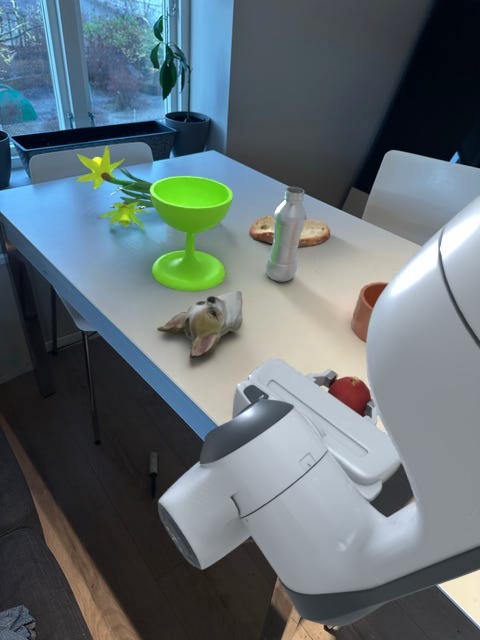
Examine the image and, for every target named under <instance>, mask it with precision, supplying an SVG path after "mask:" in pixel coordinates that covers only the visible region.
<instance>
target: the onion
mask: <svg viewBox="0 0 480 640" xmlns="http://www.w3.org/2000/svg"><path fill="white" fill-rule="evenodd" d="M327 392H328V393H330V394H331V395H332V396H334V397H335V398H337V399H338V400H339V401H341V402H342V403H344V404H345V405H346V406H348V407H349V408H351V409H352V410H353V411H355V412H356V413H358V414H359V415H360V416H362V417H363V418H365V417H366V415H365V414H364V413H363V412H364V410H365V409H366V408H365V407H366V405H367V403H368V402H369V401H371V400H372V395H371V391H370V387H368V386H367V384H366V383H365V382H364V381H363V380H362V379H360V378H359V377H358V376H343V377H341V378H337V380H336V381H335V382H334V383H333V384H332V385H331V386H330V388H329V389H327Z"/></svg>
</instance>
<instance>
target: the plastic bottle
mask: <svg viewBox="0 0 480 640" xmlns="http://www.w3.org/2000/svg"><path fill="white" fill-rule="evenodd" d="M304 196H305V190H304V189H303V188H301V187H298V186H288V187H286V188H285V193H284V195H283V199H284V201H282V202H281V203H280V204H279V206H277V207H276V209H275V212H274V239H273V244H272V246H271V250H270V254H269V257H268V259H267V262H266V274H267V275H268V277H269V279H272V280H274V281H276V282H288V281H290V280H292V278H294V277H295V275H296V272H297V269H298V267H297V266H298V260H297V258H298V249H299V247H298V244H299V240H300V236H301V233H302V230H303V227H304V224H305V221H306V219H307V212H306V210H305V206H304V205H303V202H304V199H305V197H304Z"/></svg>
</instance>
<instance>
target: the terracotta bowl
mask: <svg viewBox="0 0 480 640" xmlns="http://www.w3.org/2000/svg"><path fill="white" fill-rule="evenodd" d="M388 284H389V282H385V281H384V282H382V281H377V282H370V283H368V284H365V285H364V286H363V287H362V288H360V291H359V294H358V297H357V300H356V303H355V307H354V310H353V313H352V317H351V321H350V326H351V328H352V331H353V332H354V334H355V335H356V336H357V337H358V339H360V340H361V341H363V342H365V343H366V340H367V332H368V326H369V321H370V318H371V314H372V311H373V308H374V306H375V304H376V302H377V300H378V298H379V296H380V295H381V293H382V292H383V290H384V289H385V288H386V286H387V285H388Z"/></svg>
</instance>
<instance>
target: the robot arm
mask: <svg viewBox="0 0 480 640" xmlns="http://www.w3.org/2000/svg"><path fill="white" fill-rule="evenodd" d="M388 283H389V284H388V285H387V286H386V288H385V289H384V290H383V292H382V293H381V295H380V296H379V298H378V300H377V302H376V304H375V306H374V308H373V311H372V314H371V318H370V321H369V326H368V332H367V340H366V342H365V363H366V364H365V365H366V374H367V375H366V376H367V381H368V386H369V387H368V388H369V390H370V394H371V401H369V402H368V403H367V405H366V407H365V408H366V409H365V410H364V412H363V413H364V414H365V415H366V416H365V417H364V418H363V417H362V416H360V415H359V414H358V413H356V412H355V411H353V410H352V409H351V408H349V407H348V406H346V405H345V404H344V403H342V402H341V401H339V400H338V399H337V398H335V397H334V396H332V395H331V394H330V393H328V390H329V388H330V386H331V385H332V384H333V383H334V382H335V381H336V380H338V377H339V374H338V373H336V372H335V371H334V370H332V369H331V368H328V369H326V370H325V371H323V372H316V373H315V372H313V373H312V372H311V373H308V374H306V375H304V374H303V373H302V372H300V371H299V370H297V369H296V368H295V367H294V366H291V365H290V364H289V363H288V362H286V361H285V360H283V359H282V358H269V359H268V360H266V361H264V362H262V363H261V364H260V365H259V366H258V367H256V368H255V369H254V370H253V371H252V372H251V373H250V374H249V375H248V377H247V380H243V381H241V382H239V383H238V384H237V385H236V388H235V392H234V396H233V403H232V419H230V420H228V421H226V422H224V423H222V424H220V425H218V426H216V427H215V428H212V429H211V430H210V431H209V432H208V433H207V434H206V435H205V437H204V439H203V443H202V447H201V451H200V455H199V461H197V462H196V463H195V464H194V465H193V466H191V467H190V468H189V469H188V470H187V471H186V472H185V473H184V474H182V475H181V476H180V477H179V478H178V479H177V480H176V481H175V482H174V483H173V484H172V485H171V486H170V487H169V488H167V490H166V491H165V492H164V493H163V494H162V496H160V498H159V499H158V501H157V507H158V509H157V511H158V515H159V518H160V521H161V523H162V524H163V527H164V529H165V530H166V532H167V534H168V535H169V537H170V538H171V541H173V544H175V546H176V548H177V550H178V551H179V552H180V553H181V555H182V557H183V558H184V559H185V560H186V561H187V562H188V563H189V564H190V565H191V566H193V567H195V568H197V569H199V570H205V569H207V568H209V567H211V566H213V564H215V563H217V562H218V561H219V560H221V559H222V558H224V557H226V556H227V555H228V554H229V553H231V552H233V551H234V550H235V549H236V548H238V547H239V546H240V545H241V544H243V543H244V542H245V541H246V540H248V539H249V538H252V539H253V541H254V542H255V544H256V546H257V547H258V548H259V550H260V551H261V553H262V554H263V556H264V557H265V559H266V560H267V562H268V563H269V565H270V566H271V568H272V569H273V570H274V572H275V574H276V575H277V578H278V580H279V582H280V584H281V585H282V587H283V589H284V591H285V593H286V595H287V596H288V598H289V600H290V601H291V604H292V606H293V607H294V609H295V611H296V612H297V614H298V615H299V616H300V617H301V618H302V619H304V620H306V621H309V622H311V623H315V624H318V625H323V626H328V627H346V626H349V625H351V624H353V623H355V622H357V621H359V620H361V619H363V618H365V617H366V616H368V615H369V614H371V613H373V612H374V611H376V610H377V609H379V608H381V607H382V606H384V605H386V604H387V603H391V602H393V601H396V600H399V599H401V598H404V597H407V596H410V595H413V594H415V593H419V592H421V591H424V590H427V589H430V588H432V587H436V586H438V585H442V584H444V583H447V582H451V581H453V580H456V579H459V578H461V577H465V576H467V575H470V574H472V573H475V572H477V571H480V194H478V195H477V196H476V197H475V198H474V199H473V200H472V201H470V202H469V203H468V204H467V205H466V206H465V207H464V208H462V209H461V210H460V211H459V212H458V213H457V214H455V215H454V216H453V217H452V218H451V219H450V220H449V221H447V222H446V223H445V224H444V225H443V226H442V227H441V228H439V230H438V231H436V232H435V234H433V235H432V236H431V237H430V238H429V239H428V240H427V241H426V242H425V243H424V244H423V245H422V246H421V247H420V248H419V249H418V250H417V251H416V252H415V253H414V254H413V255H412V256H411V257H410V258H409V259H408V261H406V262H405V264H404V265H403V266H402V267H401V268H400V269H399V270H398V272H397V273H396V274H395V275H394V276H393V277H392V279H391V280H389V282H388ZM323 387H325V388H327V390H325V389H324V388H323ZM378 418H379V420H380V422H381V424H382V426H383V428H384V430H385V431H386V432H384V431H383V429H380V428H379V427H378V426H377V424H378ZM401 464H402V467H403V469H404V472H405V474H406V476H407V480H408V482H409V485H410V488H411V491H412V494H413V497H414V498H413V499H414V501H412V502H410V503H408V504H407V505H406V506H404V507H403V508H400V509H399V510H398V511H396V512H394V513H392V514H391V515H389V516H388V517H387V516H385V515H384V514H382V513H381V512H380V511H378V509H376V508H375V507H374V506H373V505H372V504H371V502H372V501H374V500H375V499H376V498H377V496H379V494H381V492H382V488H383V484H384V483H386V482H387V481H388V480H389V479H390V478H391V477H392V476H393V475H394V474H395V473H396V472H397V471H398V470H399V468H400V466H401Z"/></svg>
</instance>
